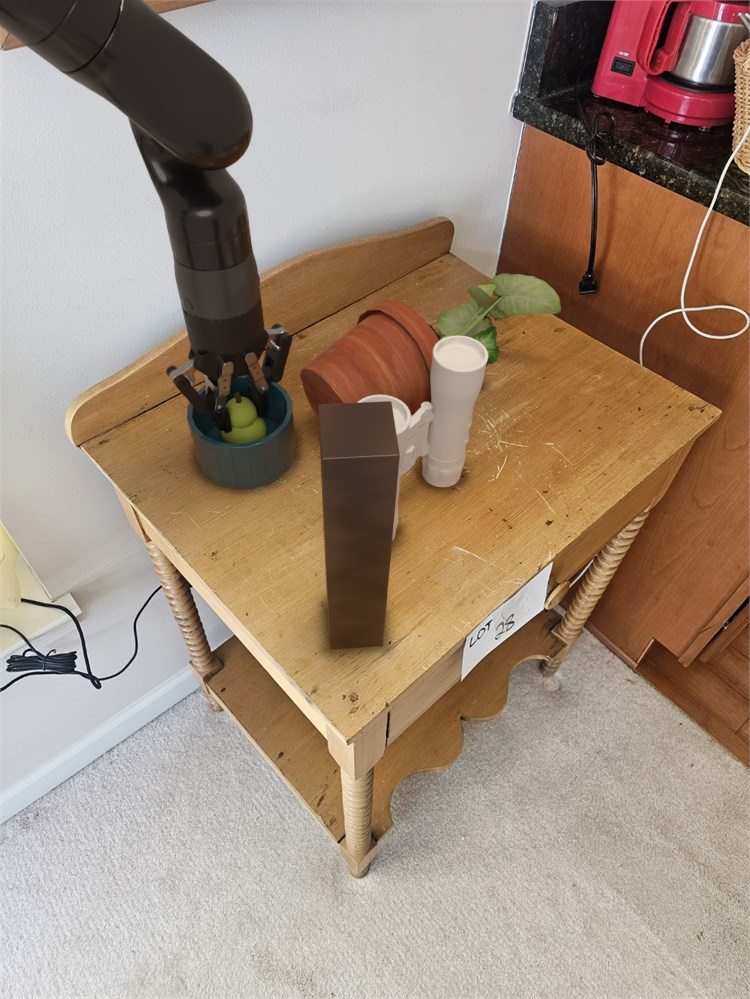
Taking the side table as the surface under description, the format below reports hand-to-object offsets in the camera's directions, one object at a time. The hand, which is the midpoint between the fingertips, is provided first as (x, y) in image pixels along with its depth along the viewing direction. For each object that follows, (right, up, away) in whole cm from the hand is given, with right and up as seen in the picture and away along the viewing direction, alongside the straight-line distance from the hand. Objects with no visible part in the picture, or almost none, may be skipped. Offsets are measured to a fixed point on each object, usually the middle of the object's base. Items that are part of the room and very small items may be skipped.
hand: (241, 419), depth 79 cm
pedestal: (+13, -21, -10) cm, 27 cm away
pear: (0, -3, +4) cm, 5 cm away
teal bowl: (0, -3, +4) cm, 5 cm away
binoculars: (+19, -9, 0) cm, 21 cm away
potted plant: (+22, +6, +13) cm, 26 cm away
